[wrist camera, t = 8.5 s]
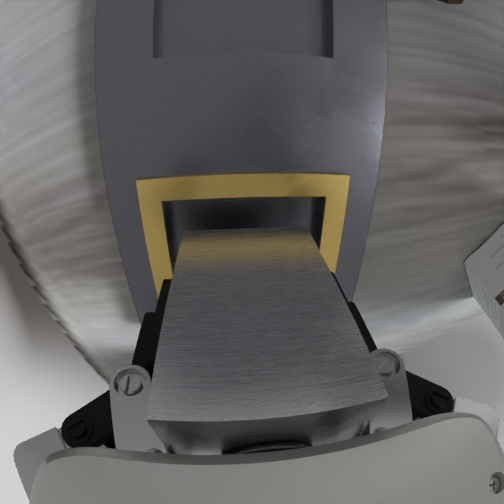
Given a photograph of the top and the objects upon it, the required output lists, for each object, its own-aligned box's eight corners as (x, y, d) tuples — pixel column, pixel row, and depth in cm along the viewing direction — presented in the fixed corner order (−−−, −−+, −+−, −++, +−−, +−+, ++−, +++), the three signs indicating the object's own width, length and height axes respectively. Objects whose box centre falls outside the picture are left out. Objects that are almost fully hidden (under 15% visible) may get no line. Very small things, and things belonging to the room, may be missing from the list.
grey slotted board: (361, -68, 6) (377, -82, 5) (334, 314, 19) (343, 336, 17) (122, -72, 6) (110, -87, 4) (152, 323, 18) (147, 346, 16)
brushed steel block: (306, 226, 12) (393, 408, 5) (296, 316, 15) (337, 472, 7) (183, 230, 12) (144, 431, 5) (196, 321, 14) (189, 485, 7)
